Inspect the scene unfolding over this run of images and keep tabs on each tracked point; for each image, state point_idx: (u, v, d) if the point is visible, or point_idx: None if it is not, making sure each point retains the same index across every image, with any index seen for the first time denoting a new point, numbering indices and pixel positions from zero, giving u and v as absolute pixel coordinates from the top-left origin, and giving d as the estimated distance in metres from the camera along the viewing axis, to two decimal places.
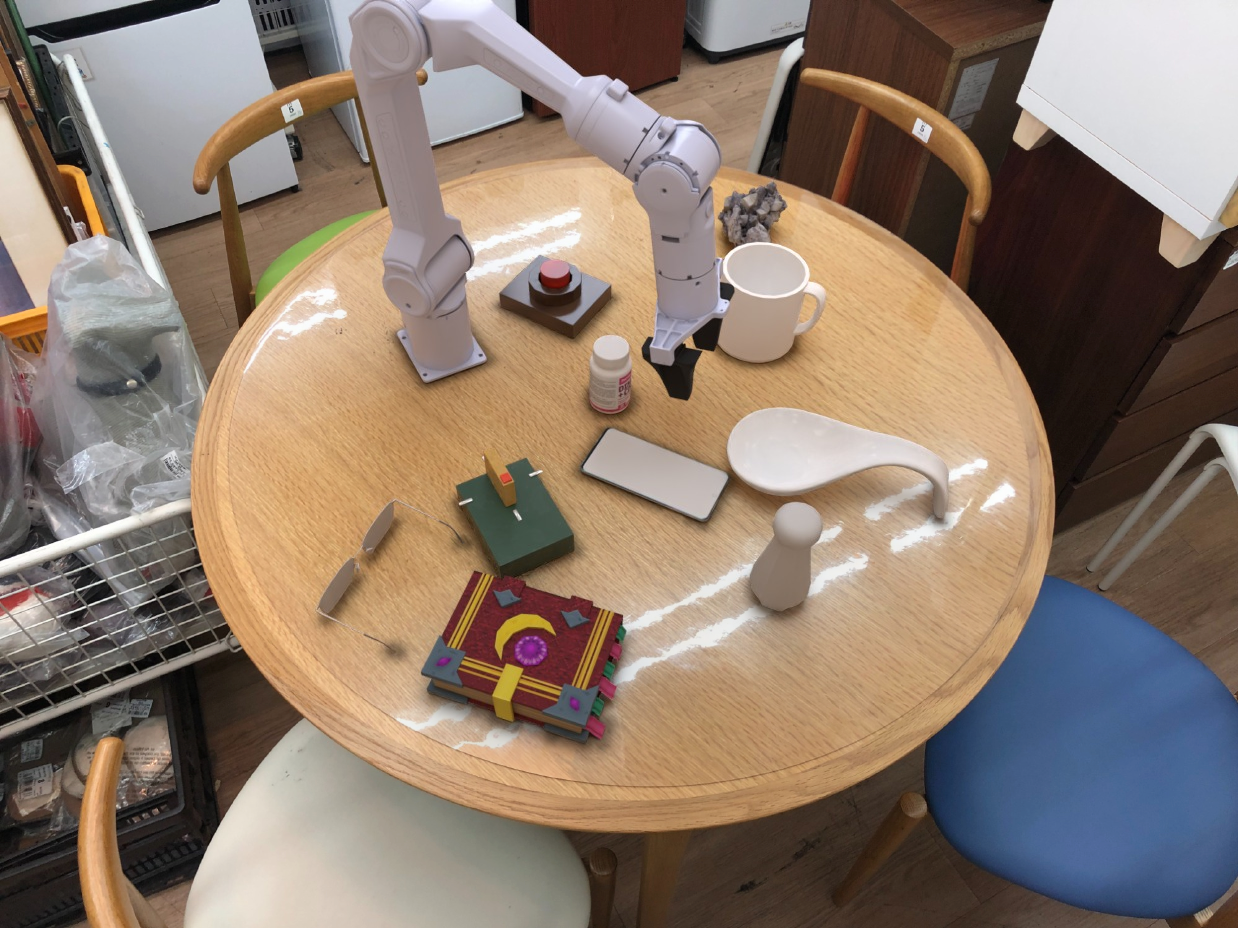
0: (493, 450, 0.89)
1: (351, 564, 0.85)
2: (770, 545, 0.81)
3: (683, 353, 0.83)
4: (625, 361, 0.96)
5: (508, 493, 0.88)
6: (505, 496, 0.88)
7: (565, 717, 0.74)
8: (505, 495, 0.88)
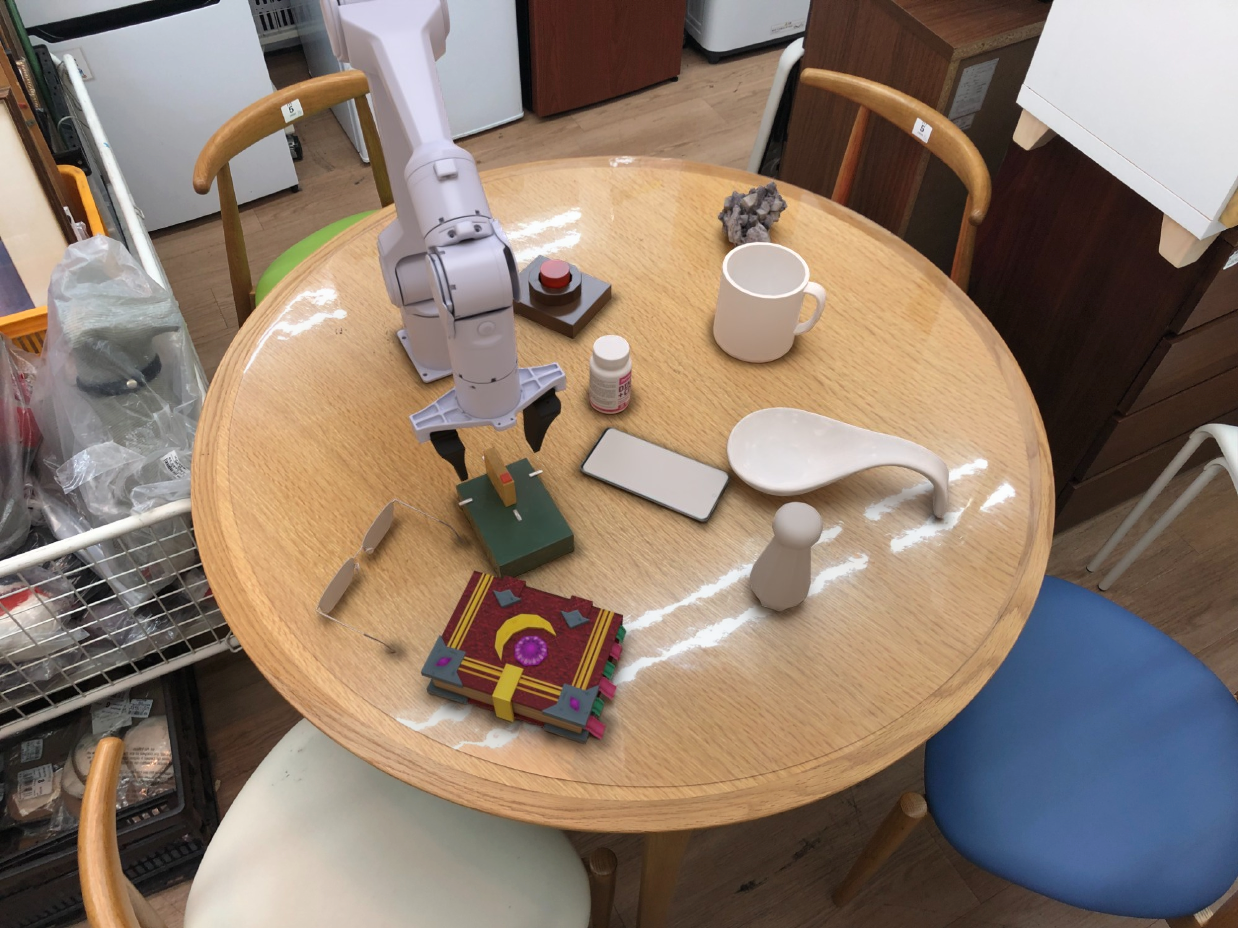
0: (493, 450, 0.89)
1: (351, 564, 0.85)
2: (770, 545, 0.81)
3: (447, 440, 0.79)
4: (625, 361, 0.96)
5: (508, 493, 0.88)
6: (505, 496, 0.88)
7: (565, 717, 0.74)
8: (505, 495, 0.88)
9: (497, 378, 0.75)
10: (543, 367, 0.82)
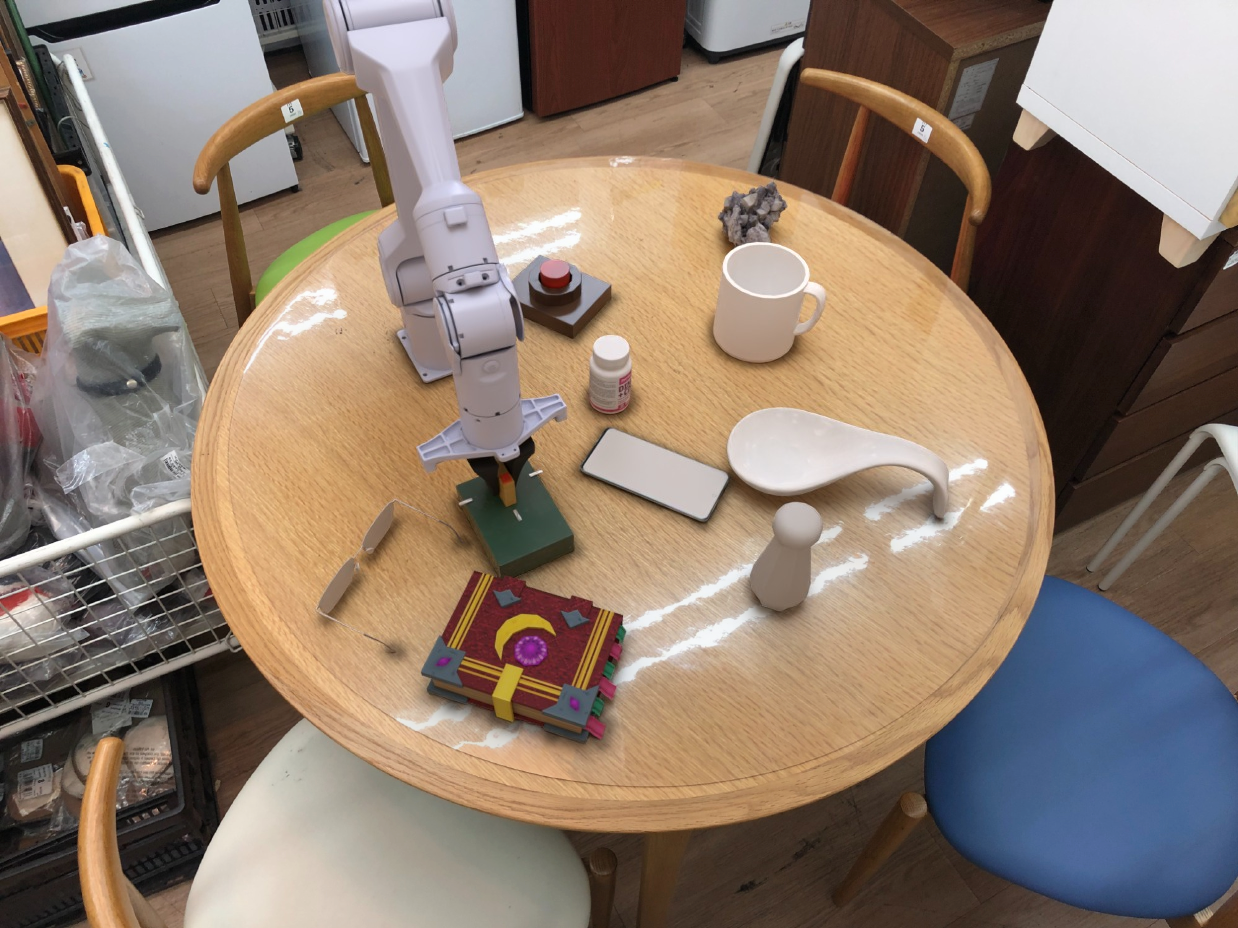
0: None
1: (351, 564, 0.85)
2: (770, 545, 0.81)
3: (482, 457, 0.84)
4: (625, 361, 0.96)
5: (508, 493, 0.88)
6: (505, 496, 0.88)
7: (565, 717, 0.74)
8: (505, 495, 0.88)
9: (501, 412, 0.78)
10: (545, 398, 0.85)
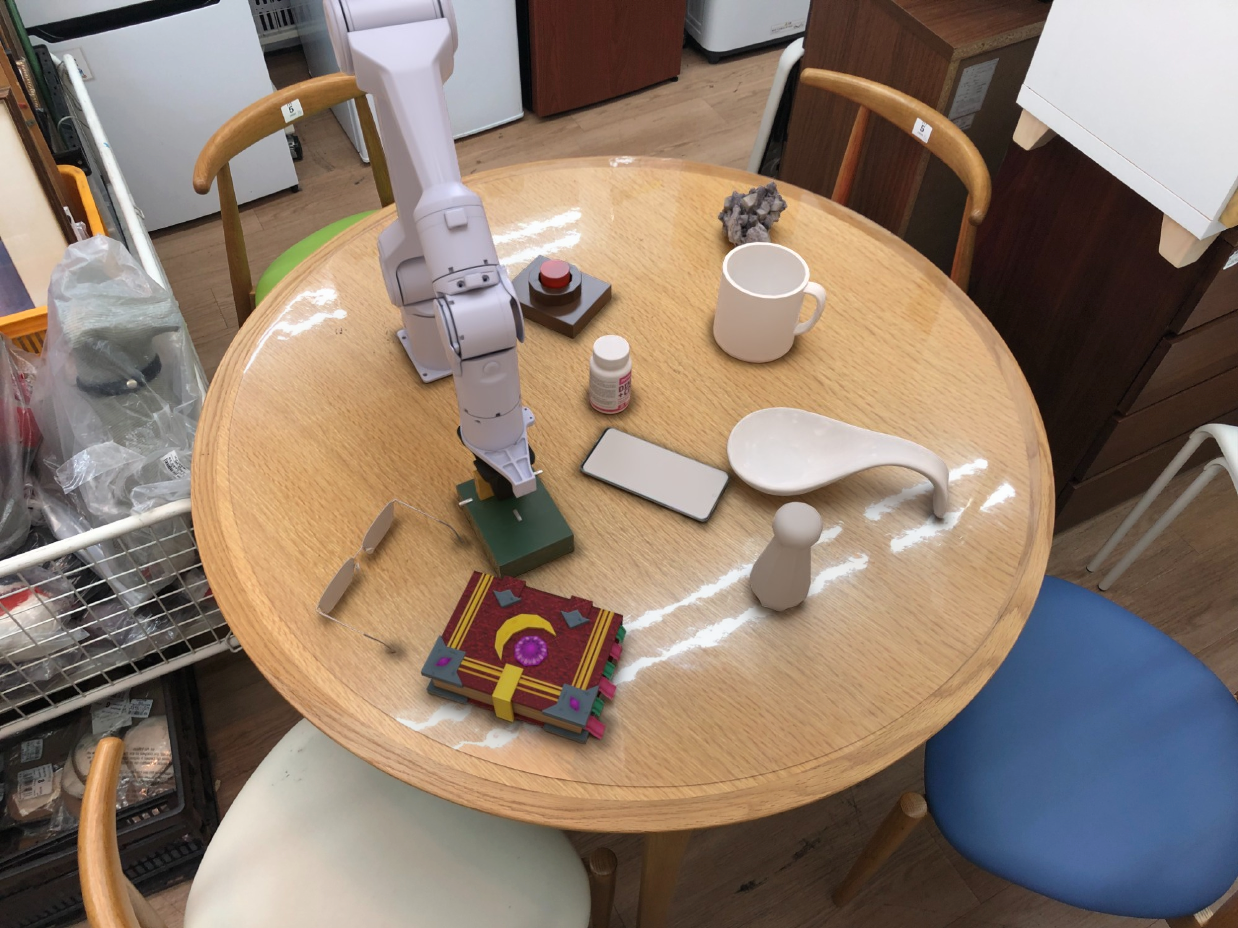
0: None
1: (351, 564, 0.85)
2: (770, 545, 0.81)
3: None
4: (625, 361, 0.96)
5: None
6: None
7: (565, 717, 0.74)
8: None
9: (501, 413, 0.78)
10: None
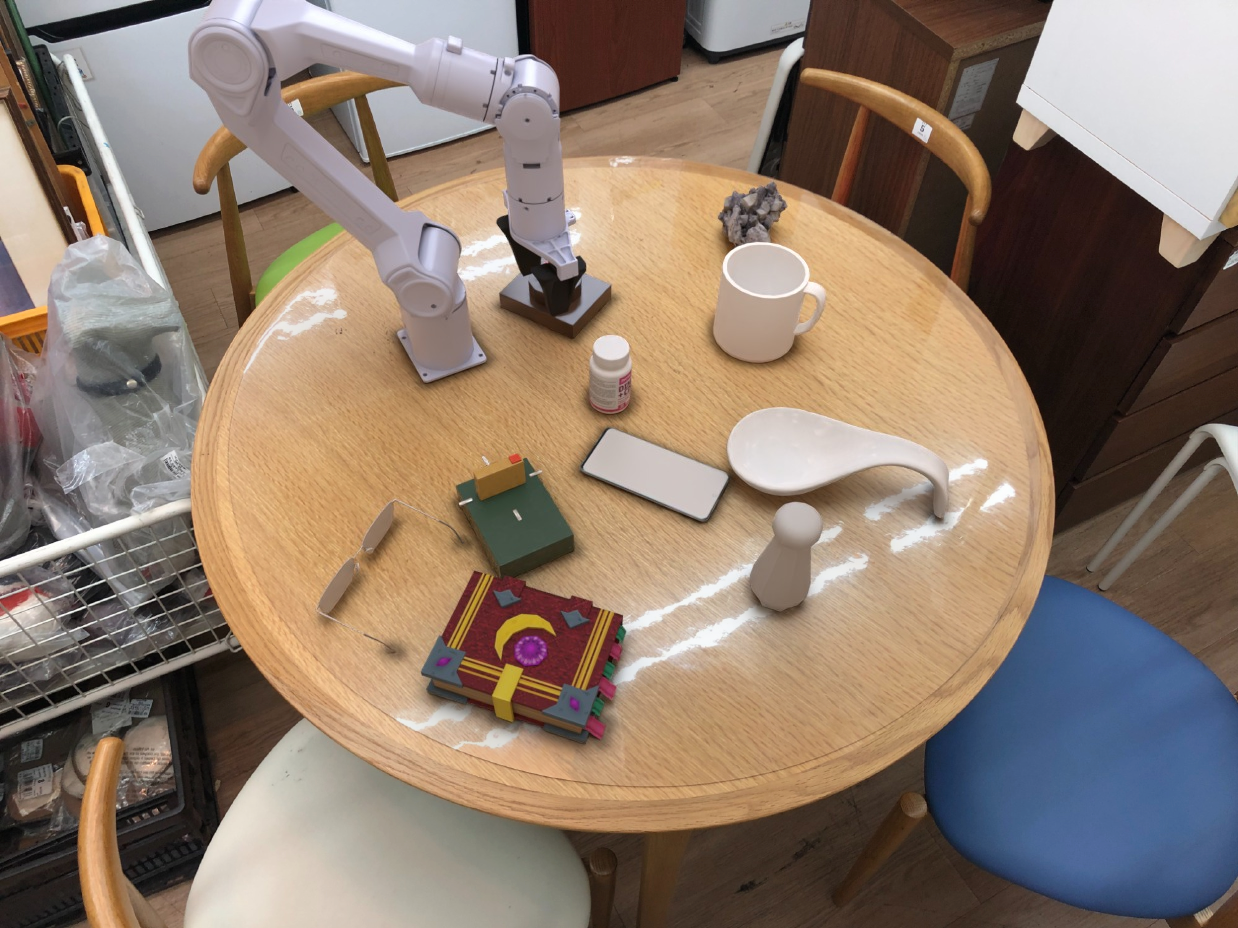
0: (477, 470, 0.87)
1: (351, 564, 0.85)
2: (770, 545, 0.81)
3: None
4: (625, 361, 0.96)
5: None
6: (524, 471, 0.90)
7: (565, 718, 0.74)
8: (524, 470, 0.90)
9: None
10: (508, 197, 0.96)
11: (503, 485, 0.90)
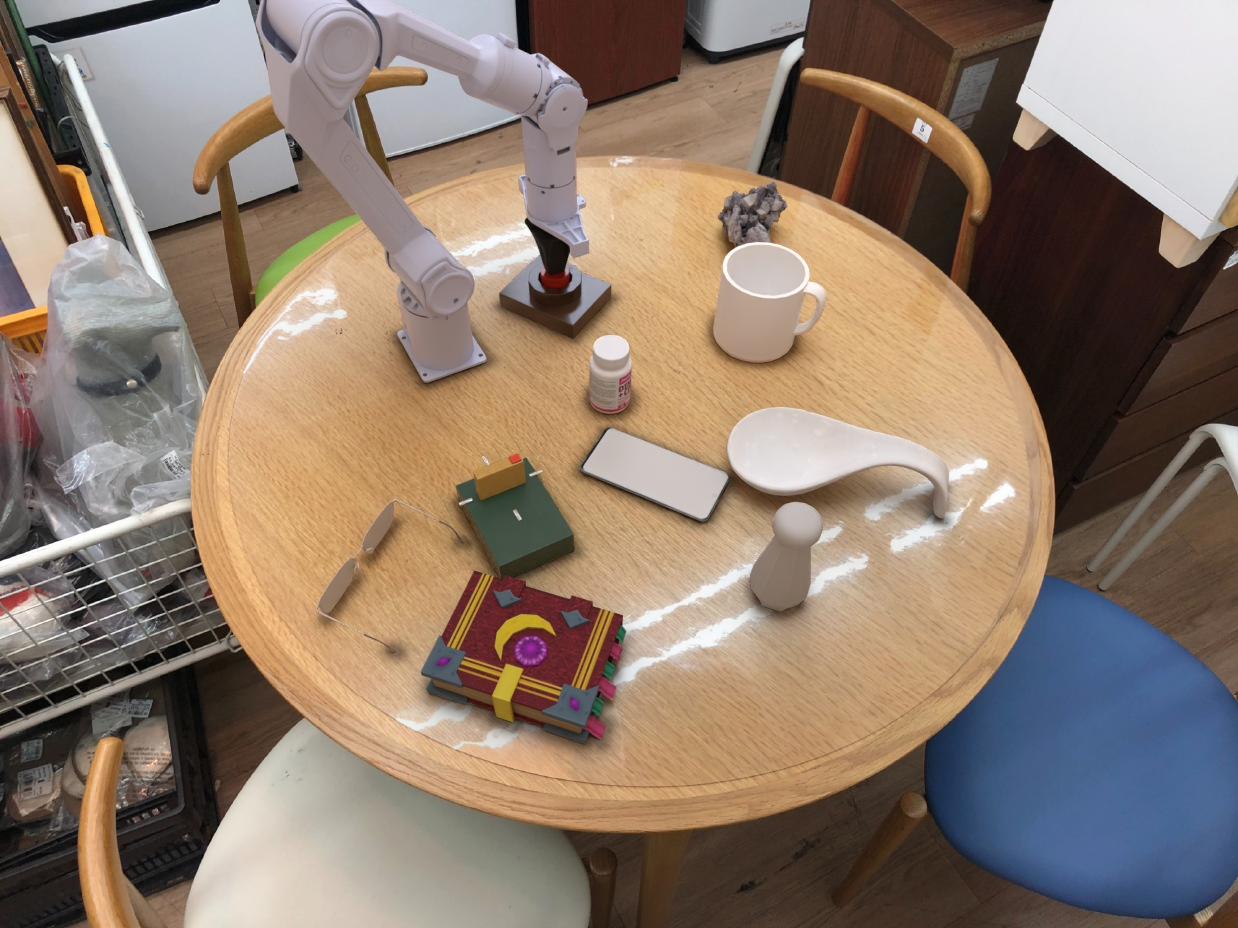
0: (477, 470, 0.87)
1: (351, 564, 0.85)
2: (770, 545, 0.81)
3: None
4: (625, 361, 0.96)
5: None
6: (524, 471, 0.90)
7: (565, 718, 0.74)
8: (524, 470, 0.90)
9: None
10: (523, 183, 1.05)
11: (503, 485, 0.90)
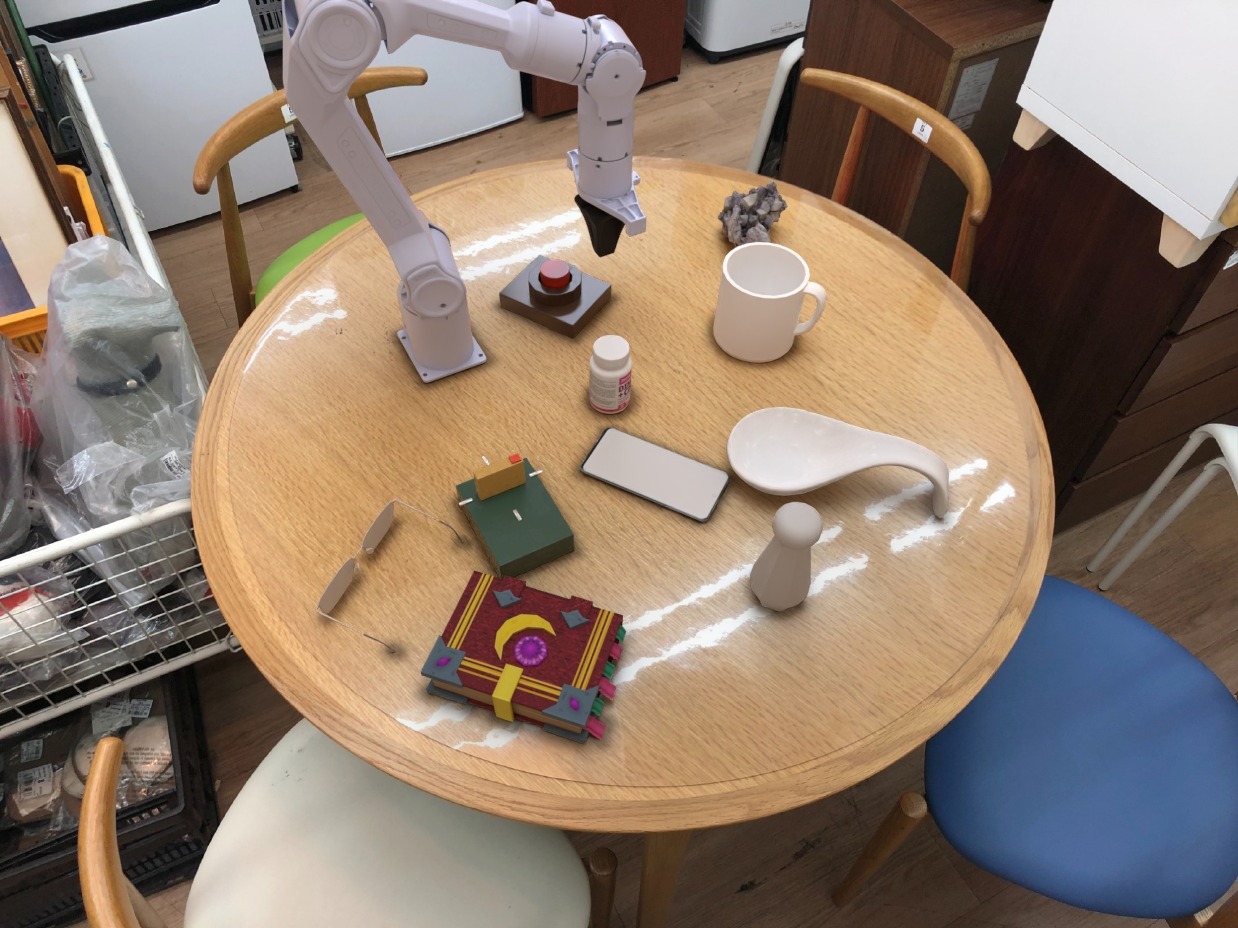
0: (477, 470, 0.87)
1: (351, 564, 0.85)
2: (770, 545, 0.81)
3: None
4: (625, 361, 0.96)
5: None
6: (524, 471, 0.90)
7: (565, 718, 0.74)
8: (524, 470, 0.90)
9: None
10: (572, 158, 0.99)
11: (503, 485, 0.90)
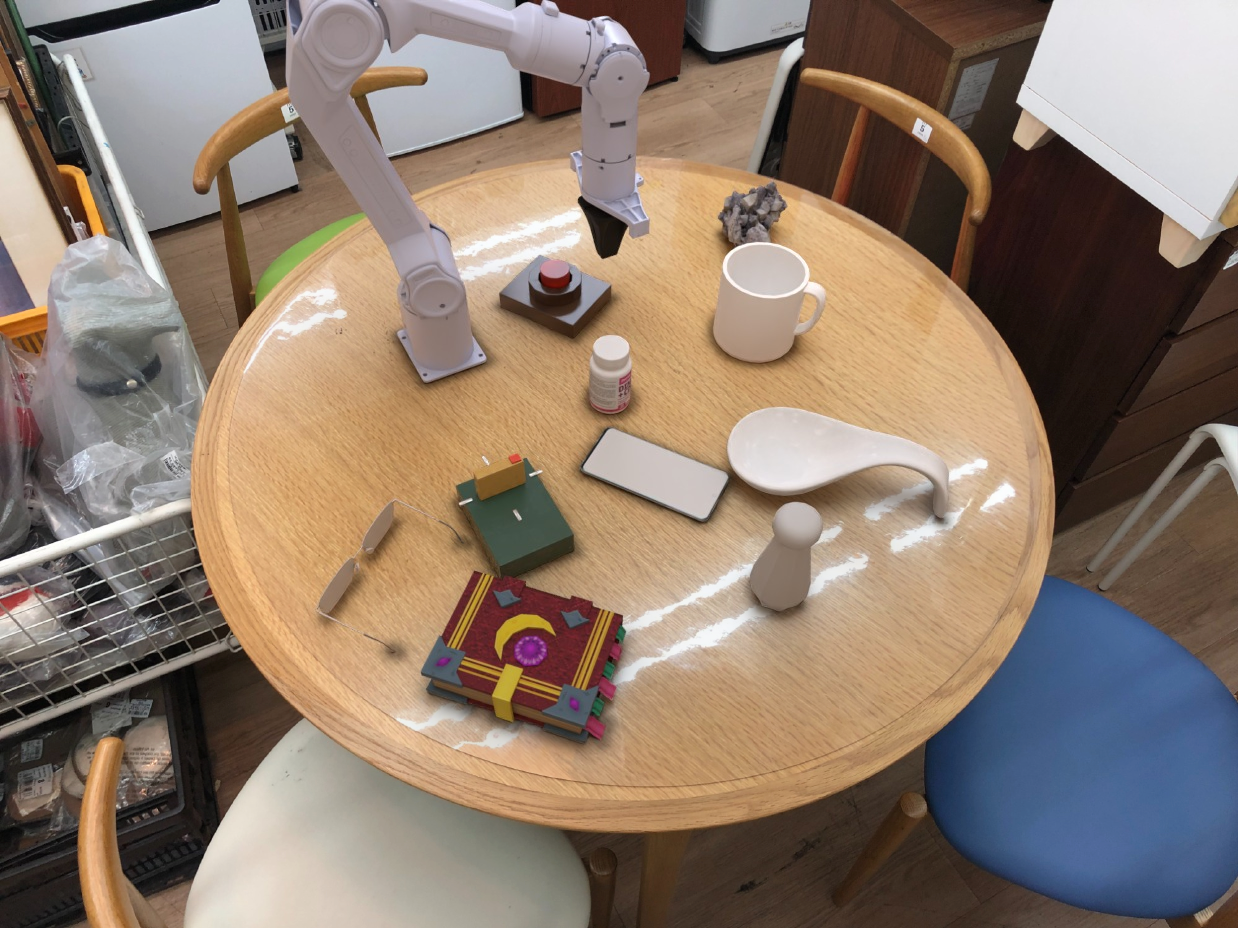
0: (477, 470, 0.87)
1: (351, 564, 0.85)
2: (770, 545, 0.81)
3: None
4: (625, 361, 0.96)
5: None
6: (524, 471, 0.90)
7: (565, 718, 0.74)
8: (524, 470, 0.90)
9: None
10: (575, 160, 0.99)
11: (503, 485, 0.90)
